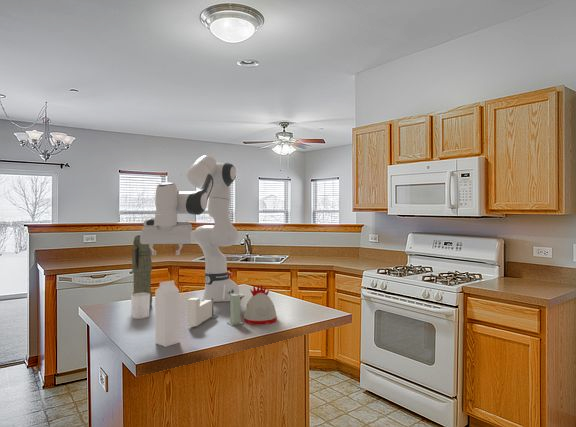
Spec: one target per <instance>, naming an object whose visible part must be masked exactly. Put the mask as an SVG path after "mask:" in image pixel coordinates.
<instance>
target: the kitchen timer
mask: <svg viewBox="0 0 576 427" xmlns="http://www.w3.org/2000/svg"><path fill="white" fill-rule="evenodd" d="M252 289H253V290H252ZM266 289H267V287H264V288H263V285H262V284H261V285H260V286H259V285H257V289H256V287H255V285H254V286H253V288H250V289H249V290H250V293H251V295H252V296H251V297H250V299H248V302H247V303H246V307H245V310H244V313H243V323H246V324H248V325H255V326H256V325H257V326H259V325H260V326H262V325H263V326H264V325H270V324H273V323H275V322H277V321H278V320H277V311H276V308H275V304H274V302H273V300H272V299H271V298H270V296H269V295H268V294H269V292H270V290H269V289H267V291H266Z"/></svg>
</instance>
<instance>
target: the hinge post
mask: <svg viewBox="0 0 576 427" xmlns="http://www.w3.org/2000/svg"><path fill="white" fill-rule="evenodd" d="M208 300H212V316H211V317H210V318H208V319H207V320H212V319H217V318H218V314H215V312H214V310H215V309H214V302H213V298H209V299H208Z"/></svg>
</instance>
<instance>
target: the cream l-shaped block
mask: <svg viewBox="0 0 576 427" xmlns="http://www.w3.org/2000/svg"><path fill="white" fill-rule="evenodd" d="M211 316H212V300H202V301H201V298H200V297H190V298H188V299H187V326H188V327H189V326H190V327H198V326H199V325H200V324H202V323H203V322H205V321H207V320H209V319H208V318H210V317H211Z"/></svg>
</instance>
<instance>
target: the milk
mask: <svg viewBox="0 0 576 427" xmlns="http://www.w3.org/2000/svg"><path fill="white" fill-rule="evenodd" d="M154 295H155V296H154V297H155V299H154V301H155V302H154V304H155V305H154V307H155V311H154V312H155V317H154V318H155V319H154V320H155V322H154V323H155V344H156V345H159V346H161V347H165V348H166V347H170V346H173V345H176V344H179V343H181V341H180V339H181V338H180V337H181V336H180V330H181V328H180V290H179V288H178V287H177V286H176V285H175V280H173V279H172V280H167V281H160V282H159V287H158V288H157V289H155V291H154Z"/></svg>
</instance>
